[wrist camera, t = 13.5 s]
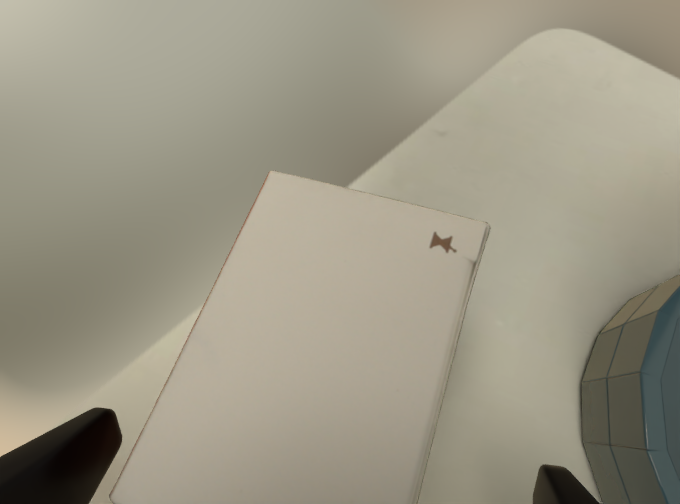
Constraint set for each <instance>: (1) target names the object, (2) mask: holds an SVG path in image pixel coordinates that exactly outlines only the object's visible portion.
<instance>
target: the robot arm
mask: <svg viewBox="0 0 680 504" xmlns="http://www.w3.org/2000/svg"><path fill="white" fill-rule="evenodd" d="M121 443H122V434H121V430H120V427H119V424H118V420H117V417H116V414H115V412H114V411H113V410H111V409H105V408H93V409H91V410H89V411H87V412H85V413H83V414H81V415H79V416H77V417H75V418H73V419H72V420H70V421H68V422H66V423H64V424H62V425H60V426H58V427H56V428H54V429H52V430H51V431H49V432H47V433H45V434H43V435H41V436H39V437H37V438H35V439H33V440H31V441H30V442H28V443H26V444H24V445H22V446H20V447H18V448H16V449H14V450H12V451H11V452H9V453H7V454H5V455H3V456H1V457H0V504H89V502H90V500H91V499H92V497H93V495H94V493H95V491H96V490H97V488H98V486H99V484H100V482H101V481H102V479H103V477H104V475H105V473H106V472H107V470H108V468H109V466H110V464H111V463H112V461H113V459H114V457H115V455H116V454H117V452H118V450H119V448H120V446H121ZM533 504H600V503H599V502H598V501H597V500H596V499H595V498H594V497H593V496H592V495H591V494H590V493H589V492H588V491H587V490H586V488H585V487H584V486H583V485H582V484H581V483H580V482H579V481H578V480H577V479H576V478H575V477H574V476H573V475H572V473H571V472H570V471H569V470H567V469H566V468H564V467H561V466H554V465H546V464H545V465H542V466H541V467H540V469H539V472H538V476H537V480H536V484H535V488H534V492H533Z"/></svg>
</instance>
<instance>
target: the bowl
mask: <svg viewBox="0 0 680 504" xmlns="http://www.w3.org/2000/svg"><path fill="white" fill-rule="evenodd" d="M582 426H583V441H584V446H585V449H586V453H587V456H588V459H589V462H590V465H591V468H592V471H593V474H594V477H595V480H596V483H597V486H598V489H599V492H600V495H601V499H602V502H603V504H680V275H678V276H676V277H674V278H672V279H670V280H668V281H666V282H664V283H662V284H660V285H658V286H656V287H654V288H652V289H650V290H648V291H646V292H644V293H642V294H640V295H638V296H636V297H634V298H632V299H630V300H629V301H628V302H627V303H626V304H625V306H624V307H623V308H622V309H621V310H620V311H619V312H618V313H617V314H616V316H615V317H614V318H613V319H612V320H611V321H610V322H609V323H608V324H607V326H606V327H605V328H604V329H603V330H602V331H601V332H600V334H599V335H598V337H597V340H596V343H595V346H594V348H593V351H592V354H591V357H590V360H589V363H588V366H587V369H586V372H585V374H584V377H583V380H582Z"/></svg>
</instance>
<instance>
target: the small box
mask: <svg viewBox="0 0 680 504" xmlns="http://www.w3.org/2000/svg"><path fill="white" fill-rule="evenodd" d="M489 232H490V225H489V224H488V223H486V222H482V221H478V220H474V219H470V218H466V217H462V216H458V215H454V214H450V213H446V212H443V211H439V210H435V209H430V208H426V207H422V206H418V205H414V204H410V203H406V202H402V201H398V200H394V199H390V198H385V197H381V196H377V195H373V194H369V193H365V192H361V191H356V190H352V189H348V188H344V187H340V186H336V185H332V184H328V183H324V182H320V181H316V180H312V179H307V178H303V177H299V176H294V175H289V174H285V173H280V172H278V171H270V172H269V173H268V175H267V177H266V179H265V181H264V183H263V186H262V188H261V190H260V192H259V194H258V196H257V198H256V200H255V202H254V204H253V206H252V208H251V210H250V212H249V214H248V216H247V218H246V220H245V222H244V224H243V226H242V228H241V230H240V232H239V234H238V236H237V238H236V241H235V243H234V245H233V247H232V249H231V251H230V253H229V255H228V257H227V259H226V261H225V263H224V265H223V267H222V269H221V271H220V273H219V275H218V278H217V280H216V282H215V284H214V286H213V288H212V290H211V292H210V294H209V296H208V298H207V300H206V302H205V304H204V306H203V308H202V310H201V312H200V314H199V316H198V318H197V320H196V322H195V324H194V326H193V328H192V330H191V332H190V334H189V336H188V338H187V341H186V343H185V345H184V347H183V349H182V351H181V353H180V355H179V357H178V359H177V361H176V363H175V365H174V367H173V369H172V371H171V373H170V375H169V377H168V379H167V381H166V383H165V385H164V387H163V389H162V391H161V393H160V395H159V397H158V399H157V401H156V404H155V406H154V408H153V410H152V412H151V414H150V416H149V418H148V420H147V422H146V424H145V426H144V428H143V430H142V432H141V434H140V436H139V438H138V440H137V442H136V444H135V446H134V448H133V450H132V452H131V454H130V456H129V458H128V460H127V462H126V464H125V466H124V468H123V470H122V472H121V474H120V477H119V479H118V481H117V482H116V484H115V486H114V488H113V490H112V491H111V493H110V495H109V497H110V500H111V501H112V503H113V504H417V502H418V498H419V493H420V489H421V485H422V481H423V477H424V473H425V469H426V465H427V461H428V457H429V453H430V449H431V445H432V441H433V437H434V433H435V429H436V425H437V421H438V417H439V413H440V409H441V405H442V401H443V397H444V393H445V389H446V385H447V381H448V378H449V374H450V370H451V366H452V362H453V358H454V354H455V350H456V346H457V343H458V339H459V335H460V331H461V327H462V323H463V319H464V315H465V311H466V308H467V304H468V301H469V297H470V294H471V290H472V287H473V284H474V280H475V277H476V273H477V270H478V267H479V264H480V260H481V257H482V254H483V250H484V247H485V244H486V241H487V238H488V235H489Z"/></svg>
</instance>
